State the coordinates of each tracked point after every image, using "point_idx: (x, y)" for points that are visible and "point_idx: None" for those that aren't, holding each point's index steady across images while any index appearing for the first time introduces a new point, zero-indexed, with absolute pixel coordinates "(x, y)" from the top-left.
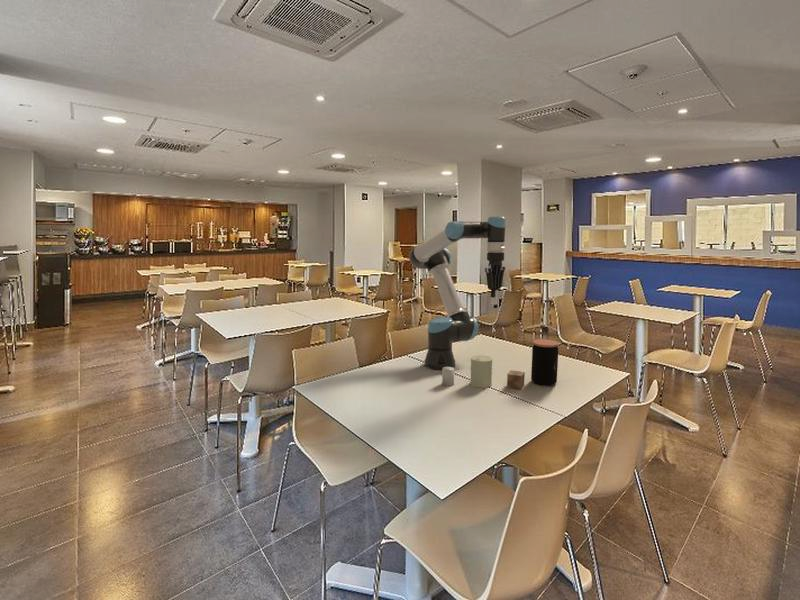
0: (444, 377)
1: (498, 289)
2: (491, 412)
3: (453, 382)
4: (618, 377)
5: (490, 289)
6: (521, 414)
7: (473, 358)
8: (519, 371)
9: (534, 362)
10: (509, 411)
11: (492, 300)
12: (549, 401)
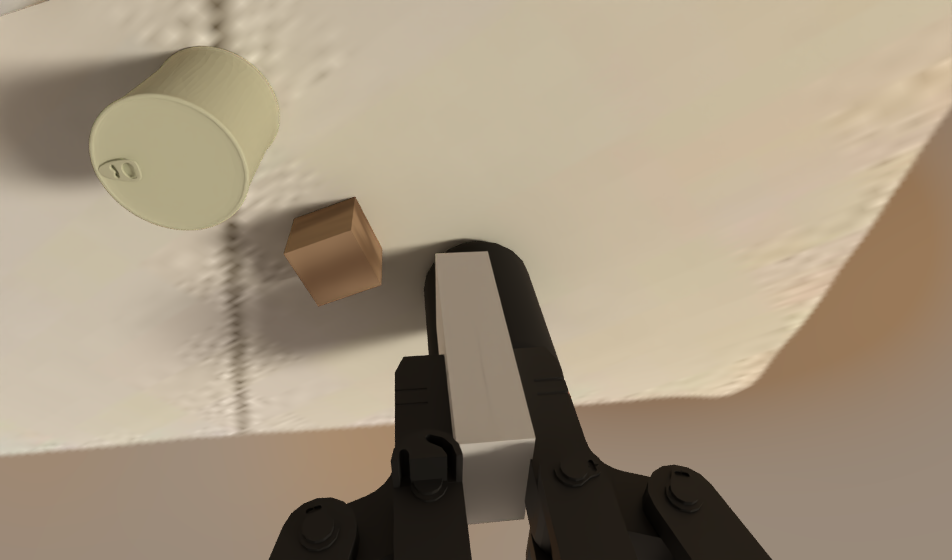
0: None
1: (529, 534)
2: (30, 318)
3: (42, 2)
4: (698, 395)
5: (370, 494)
6: (128, 377)
7: (116, 129)
8: (368, 267)
9: (434, 326)
10: (106, 347)
11: (440, 316)
12: (308, 374)
